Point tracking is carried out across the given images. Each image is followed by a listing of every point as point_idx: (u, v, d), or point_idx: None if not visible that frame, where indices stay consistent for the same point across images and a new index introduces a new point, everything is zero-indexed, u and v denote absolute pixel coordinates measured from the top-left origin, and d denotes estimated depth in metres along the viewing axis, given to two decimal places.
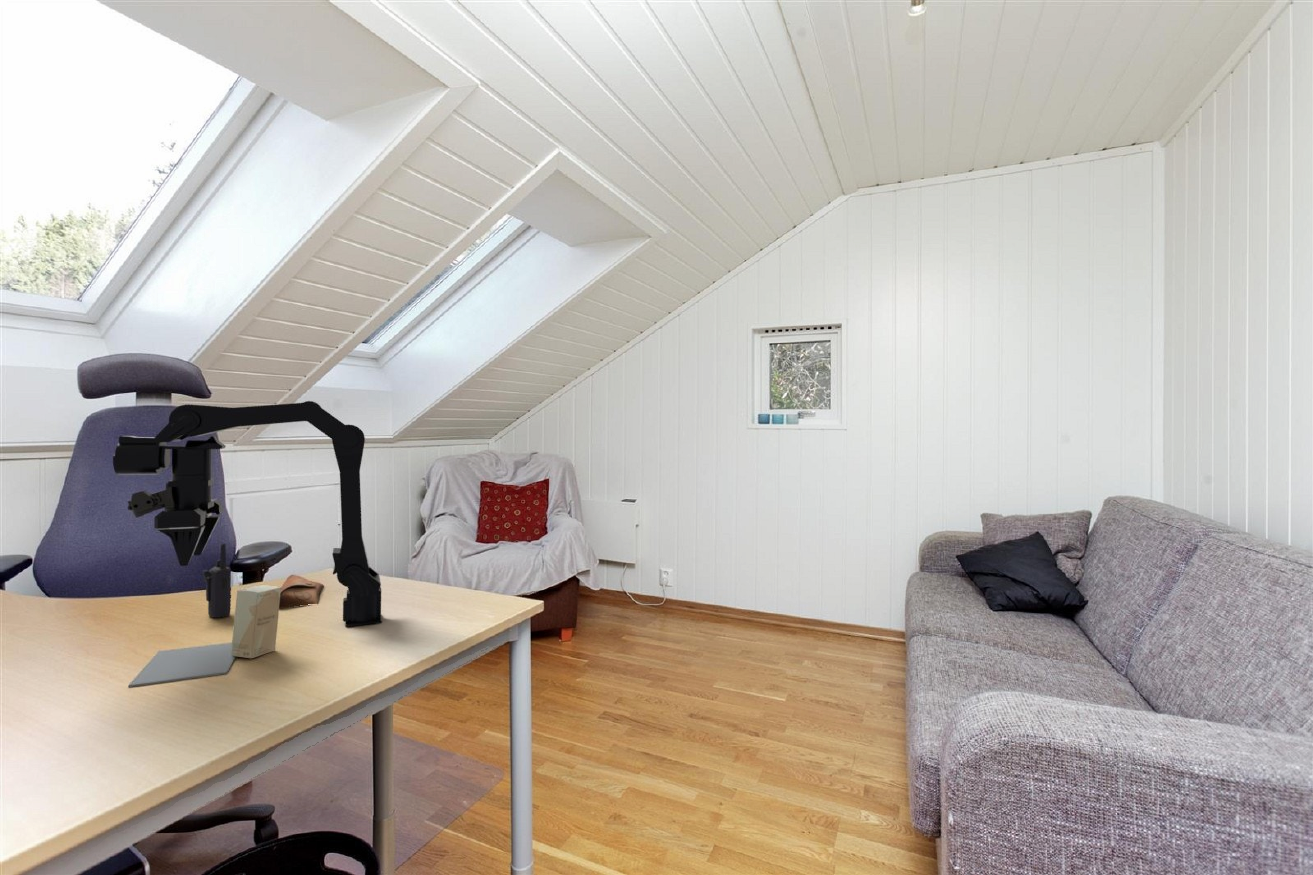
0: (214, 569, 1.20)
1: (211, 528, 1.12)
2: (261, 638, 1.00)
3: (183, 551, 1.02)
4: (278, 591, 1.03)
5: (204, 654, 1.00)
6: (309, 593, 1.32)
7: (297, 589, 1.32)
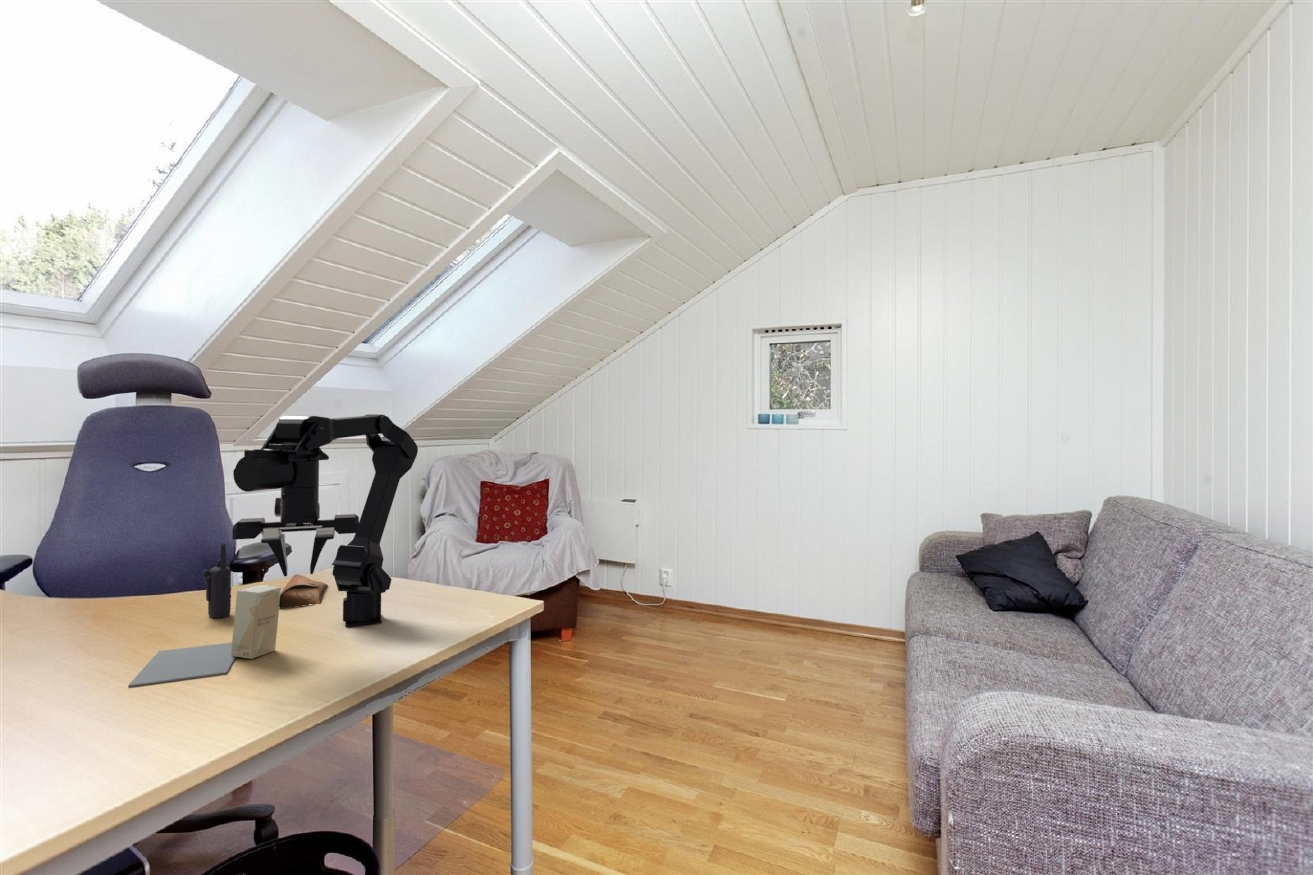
0: (214, 569, 1.20)
1: (313, 548, 1.03)
2: (261, 638, 1.00)
3: None
4: (278, 591, 1.03)
5: (204, 654, 1.00)
6: (311, 593, 1.32)
7: (299, 589, 1.32)
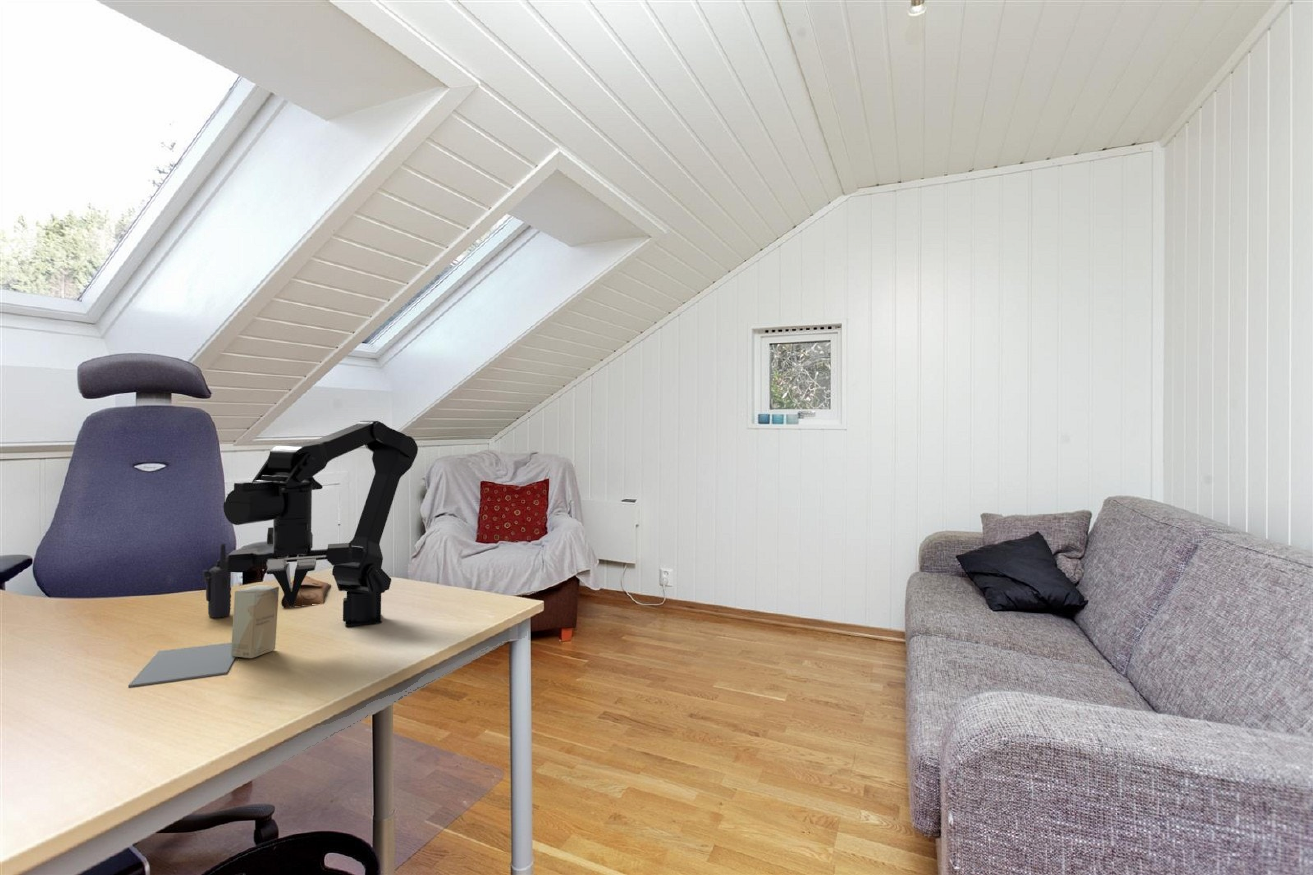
0: (214, 569, 1.20)
1: None
2: (260, 637, 1.00)
3: None
4: (276, 591, 1.03)
5: (204, 654, 1.00)
6: (315, 593, 1.33)
7: (303, 589, 1.33)
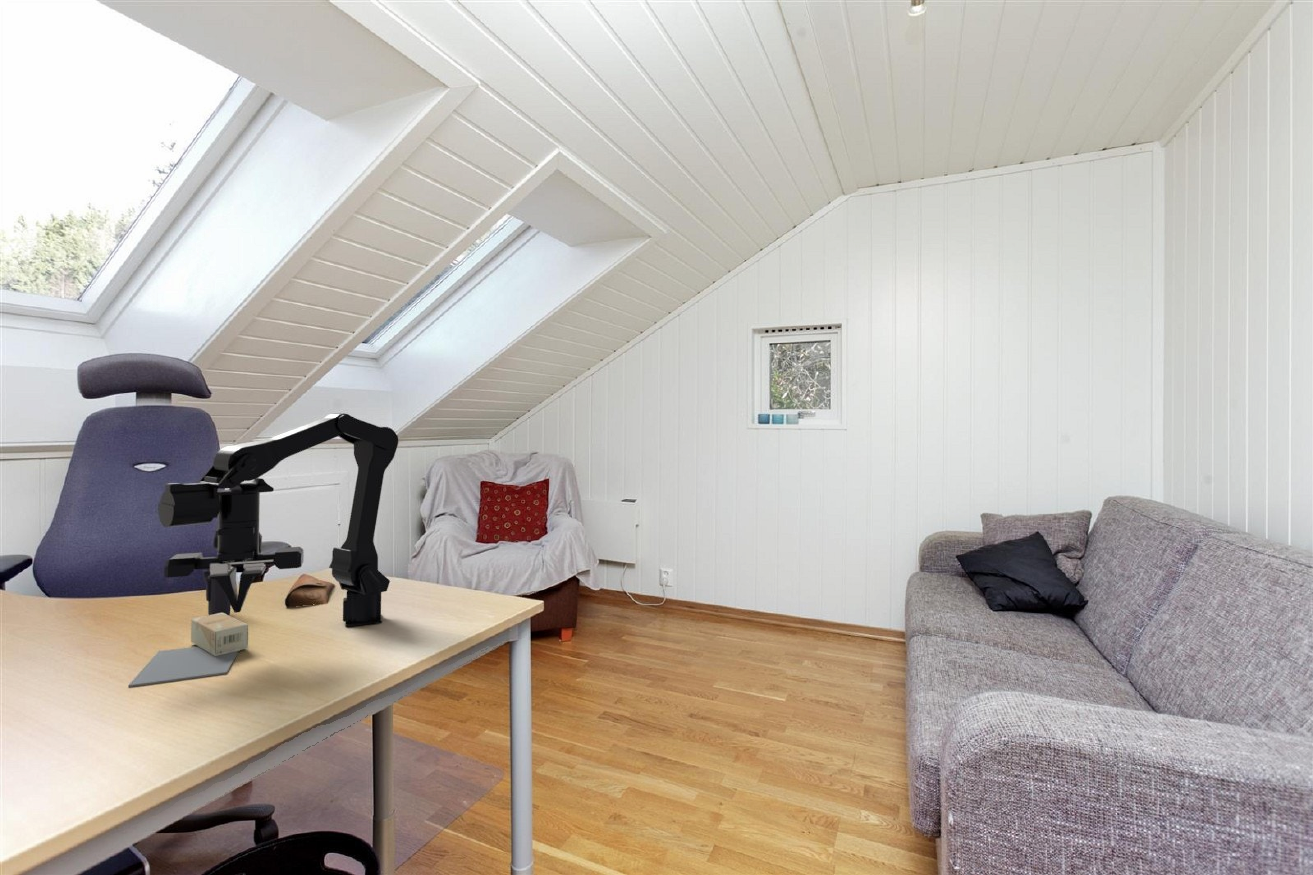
0: None
1: (239, 585, 0.99)
2: (219, 625, 1.02)
3: None
4: (221, 613, 1.08)
5: (204, 654, 1.00)
6: (319, 593, 1.33)
7: (307, 589, 1.33)
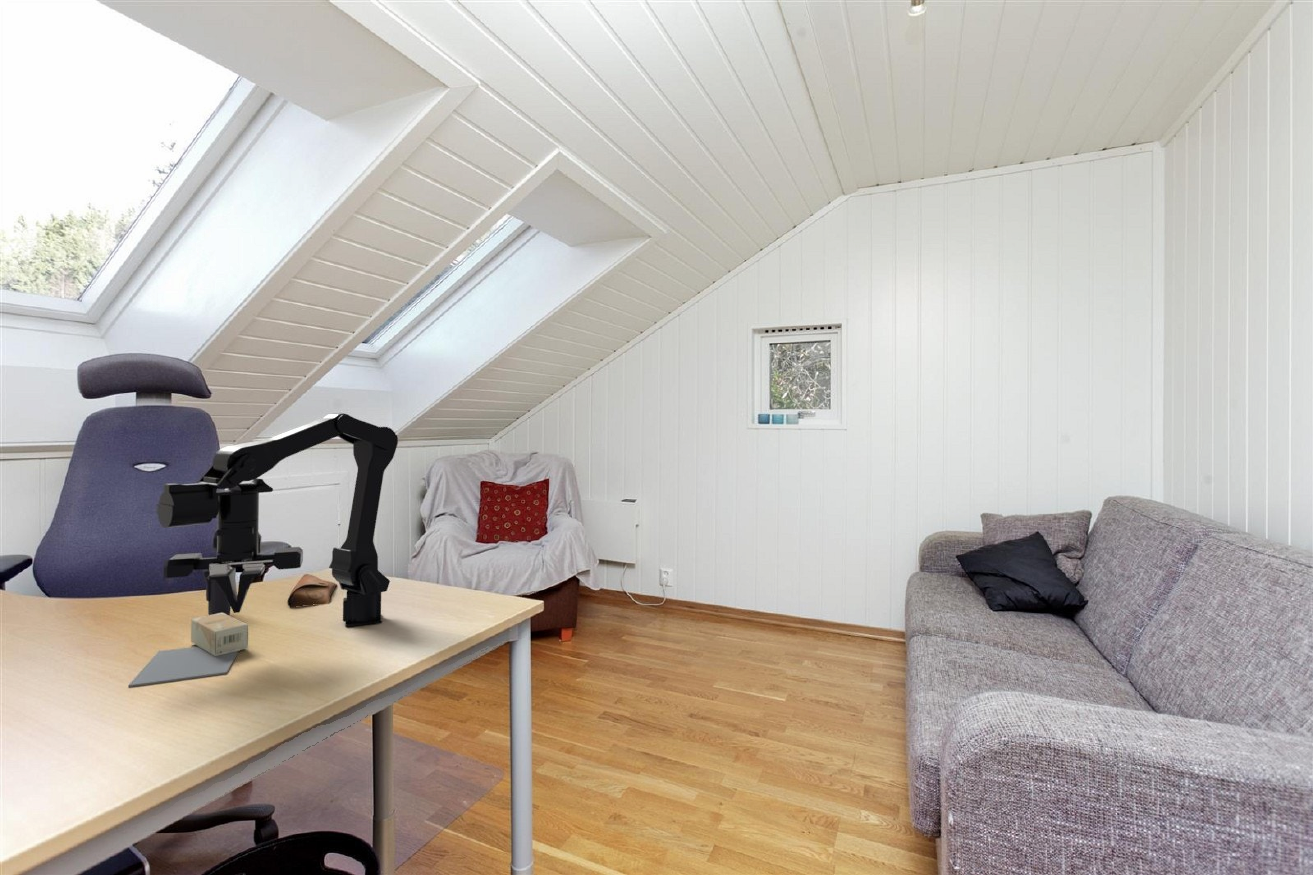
0: None
1: None
2: (219, 625, 1.02)
3: None
4: (221, 613, 1.08)
5: (204, 654, 1.00)
6: (321, 593, 1.33)
7: (309, 589, 1.33)
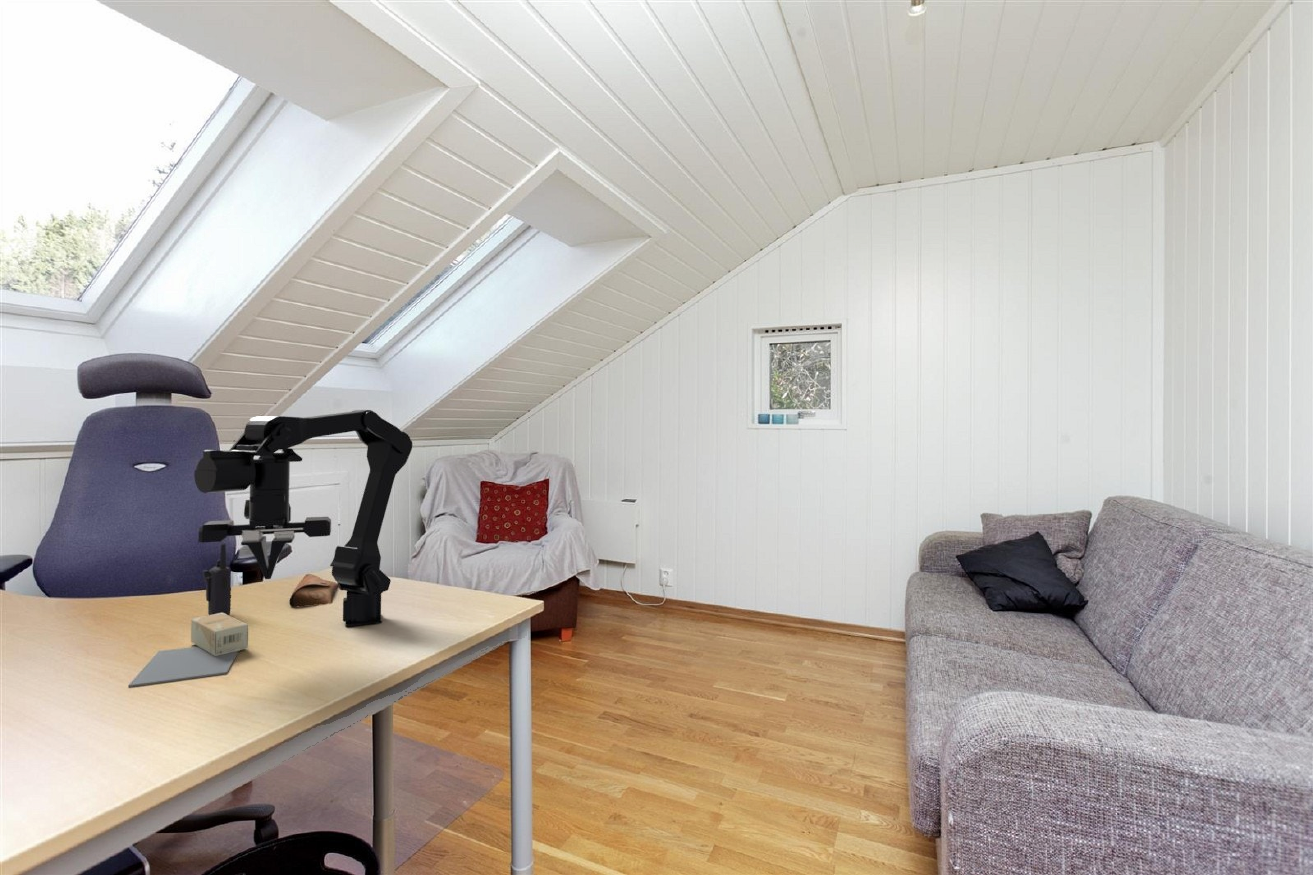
0: (214, 569, 1.20)
1: (270, 552, 1.01)
2: (219, 625, 1.02)
3: None
4: (221, 613, 1.08)
5: (204, 654, 1.00)
6: (323, 593, 1.33)
7: (311, 589, 1.33)
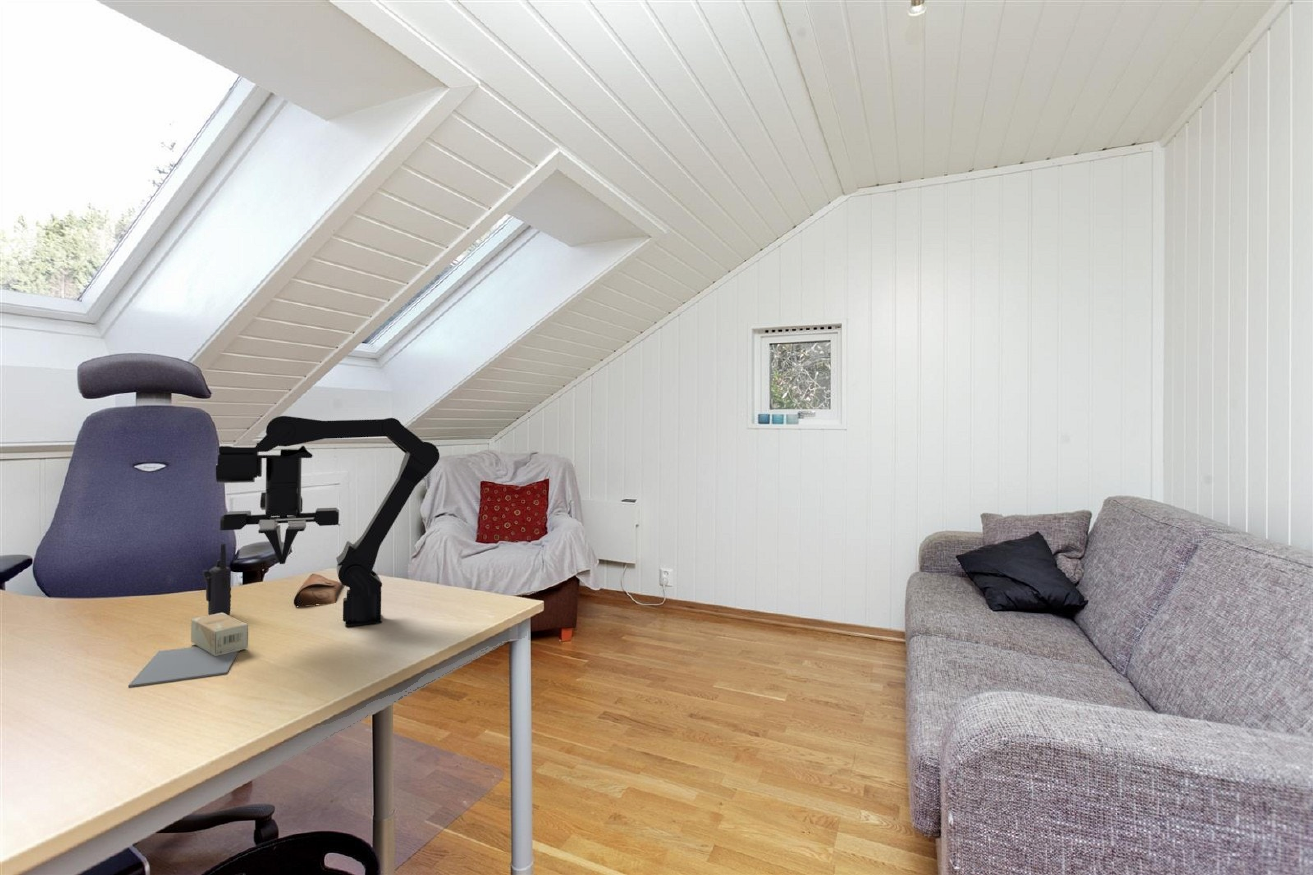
0: (214, 569, 1.20)
1: None
2: (219, 625, 1.02)
3: None
4: (221, 613, 1.08)
5: (204, 654, 1.00)
6: (327, 593, 1.33)
7: (316, 589, 1.33)
